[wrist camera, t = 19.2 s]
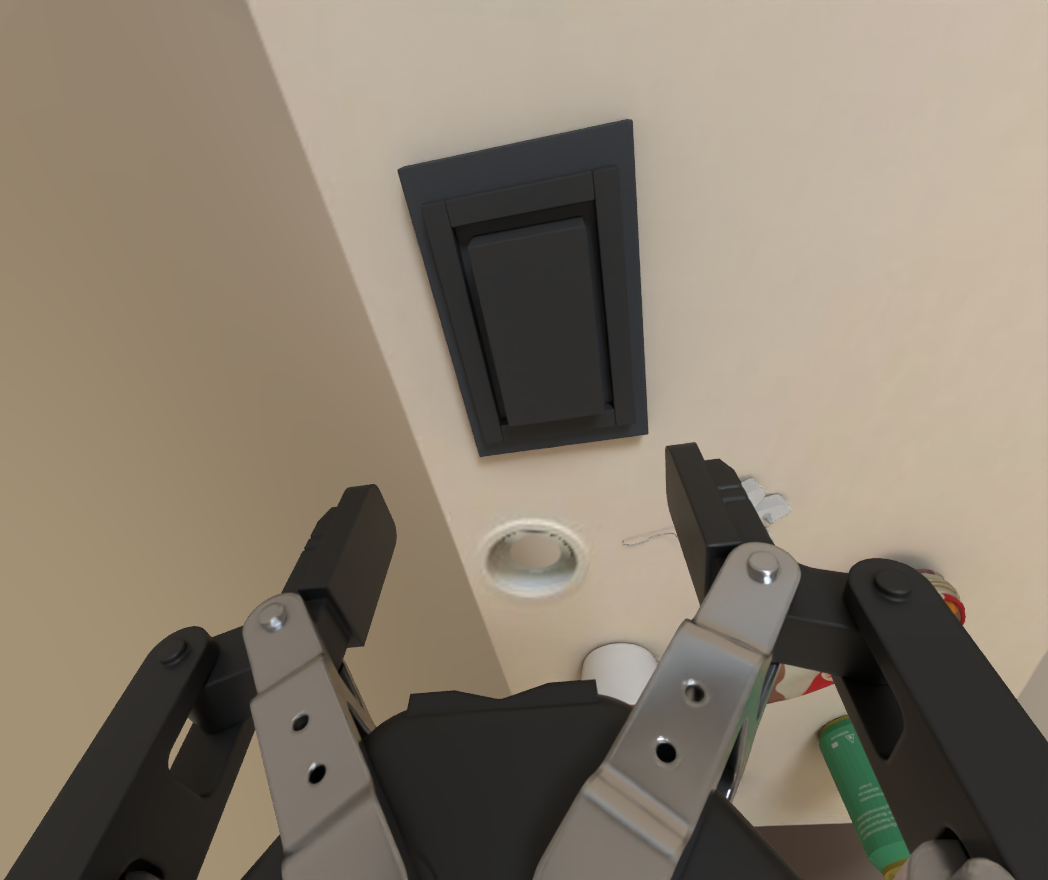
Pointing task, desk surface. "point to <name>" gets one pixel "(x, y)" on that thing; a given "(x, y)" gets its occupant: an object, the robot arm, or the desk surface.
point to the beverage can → (863, 796)
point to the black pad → (540, 319)
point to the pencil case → (807, 681)
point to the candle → (620, 670)
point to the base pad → (520, 200)
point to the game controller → (760, 505)
